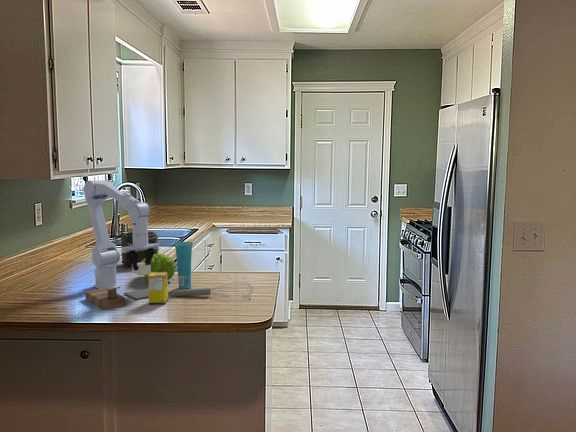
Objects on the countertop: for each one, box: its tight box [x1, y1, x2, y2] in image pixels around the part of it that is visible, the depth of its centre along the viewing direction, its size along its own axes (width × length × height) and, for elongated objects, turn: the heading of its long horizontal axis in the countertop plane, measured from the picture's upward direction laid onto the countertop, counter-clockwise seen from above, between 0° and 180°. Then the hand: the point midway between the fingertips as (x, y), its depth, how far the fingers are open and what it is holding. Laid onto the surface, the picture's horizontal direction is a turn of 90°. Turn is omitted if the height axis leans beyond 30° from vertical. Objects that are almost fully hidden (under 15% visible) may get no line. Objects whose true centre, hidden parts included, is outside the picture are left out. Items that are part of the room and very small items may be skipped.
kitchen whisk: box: [168, 281, 253, 299], centre depth 201 cm, size 6×33×6 cm, turn 87°
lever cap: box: [131, 262, 151, 276], centre depth 202 cm, size 7×4×4 cm, turn 40°
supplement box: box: [147, 272, 169, 306], centre depth 192 cm, size 6×6×11 cm
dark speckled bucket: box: [120, 231, 159, 269], centre depth 259 cm, size 18×18×16 cm
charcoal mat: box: [123, 288, 149, 301], centre depth 203 cm, size 11×10×1 cm
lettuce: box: [141, 253, 176, 281], centre depth 228 cm, size 13×22×14 cm
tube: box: [174, 240, 194, 290], centre depth 213 cm, size 7×5×19 cm, turn 89°
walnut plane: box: [84, 288, 127, 311], centre depth 193 cm, size 18×8×6 cm, turn 40°
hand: (141, 269), depth 202 cm, fingers closed on lever cap, 4 cm apart
